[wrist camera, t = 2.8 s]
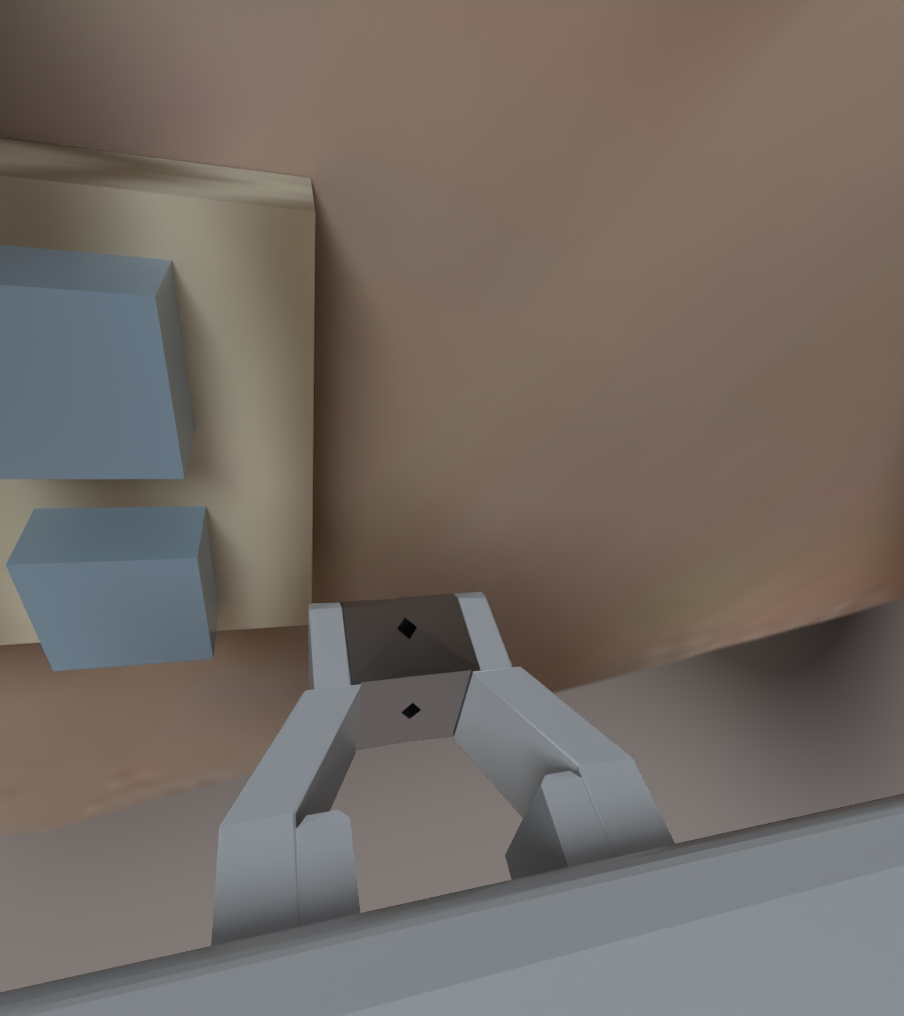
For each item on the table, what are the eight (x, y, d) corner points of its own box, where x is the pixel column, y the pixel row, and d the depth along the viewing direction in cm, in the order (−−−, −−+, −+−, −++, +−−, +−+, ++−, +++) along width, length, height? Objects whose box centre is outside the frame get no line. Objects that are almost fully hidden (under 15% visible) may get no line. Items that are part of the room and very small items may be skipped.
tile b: (205, 506, 20) (197, 558, 18) (219, 605, 23) (213, 659, 21) (34, 508, 18) (5, 564, 16) (73, 613, 21) (52, 671, 19)
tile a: (171, 260, 15) (155, 296, 13) (195, 429, 18) (184, 479, 16) (-66, 238, 13) (-124, 275, 11) (3, 426, 16) (-33, 479, 15)
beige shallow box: (310, 178, 18) (315, 211, 15) (308, 558, 27) (311, 624, 24) (-186, 113, 14) (-309, 140, 11) (13, 568, 24) (-25, 646, 21)
